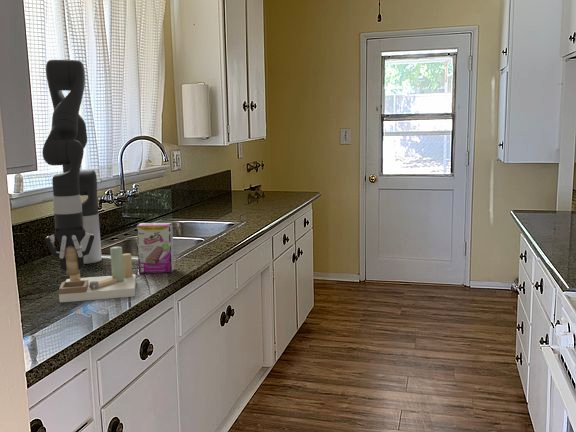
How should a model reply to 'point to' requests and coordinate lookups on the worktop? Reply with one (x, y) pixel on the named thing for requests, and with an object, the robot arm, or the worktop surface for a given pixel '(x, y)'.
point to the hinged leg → (116, 269)
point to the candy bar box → (155, 247)
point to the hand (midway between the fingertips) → (72, 269)
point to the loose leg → (71, 261)
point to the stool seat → (80, 287)
